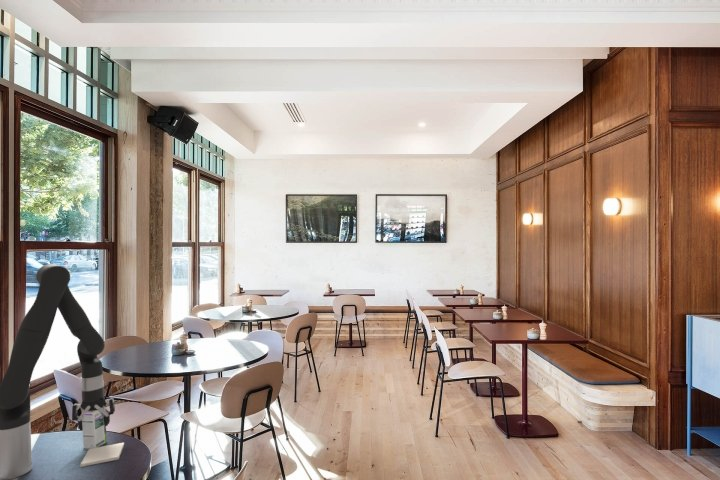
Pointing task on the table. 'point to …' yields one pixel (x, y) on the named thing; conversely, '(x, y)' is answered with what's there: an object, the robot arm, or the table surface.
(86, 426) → the syrup box
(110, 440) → the table surface
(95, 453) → the ceramic tile
